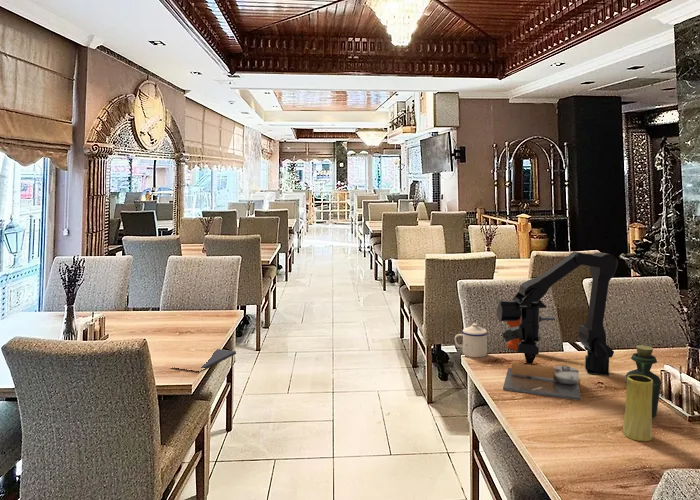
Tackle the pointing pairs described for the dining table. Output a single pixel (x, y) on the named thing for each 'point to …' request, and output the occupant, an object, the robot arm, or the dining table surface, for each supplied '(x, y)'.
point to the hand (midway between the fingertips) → (528, 366)
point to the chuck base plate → (540, 386)
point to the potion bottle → (647, 372)
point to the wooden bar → (546, 371)
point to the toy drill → (514, 343)
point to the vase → (638, 408)
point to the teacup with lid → (473, 341)
